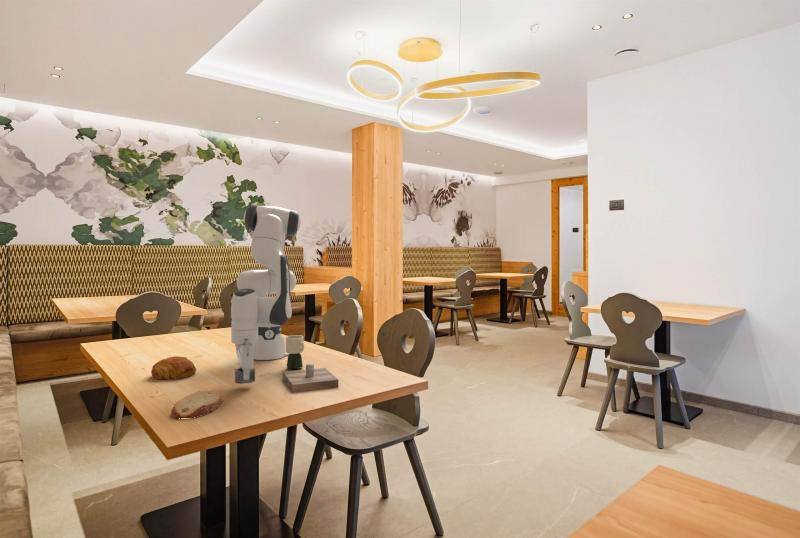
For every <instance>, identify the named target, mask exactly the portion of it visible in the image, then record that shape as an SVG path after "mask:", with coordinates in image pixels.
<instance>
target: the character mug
mask: <svg viewBox="0 0 800 538" xmlns="http://www.w3.org/2000/svg"><path fill="white" fill-rule="evenodd" d="M304 343H305V341H304V335H301V334H299V335H297V334H293V335H292V334H291V335H287V336H285V351H286V353H289V355H287V360H286V368H287V369H289V370H293V369H296V370H299V369H300V368H301V369H302V368H303V367H304V365H303V357H302V353H304V350H305V344H304Z"/></svg>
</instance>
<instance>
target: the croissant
mask: <svg viewBox="0 0 800 538" xmlns="http://www.w3.org/2000/svg"><path fill="white" fill-rule="evenodd" d="M150 372H151V373H150V374H151V375H152V377H153V378H154V379H155V380H167V379H168V380H171V379H172V380H173V381H175V380H179V379H185V378H189V377H192V376H193V375H194V374H195V373H196V372H197V367H196V366H195V364H194V362H193V361H191V360H189V359H188V357H186V356H177V355H176V356H170V357H167V358H164V359H160V360H159V361H157V362H156V363H155V364H154V365H153V366H152V368H151V371H150Z"/></svg>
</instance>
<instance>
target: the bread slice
mask: <svg viewBox="0 0 800 538" xmlns="http://www.w3.org/2000/svg"><path fill="white" fill-rule="evenodd" d="M221 404H222V396H221V395H220V394H218V392H215V391H214V392H213V391H209V390H198V391H195V392H193V393H190V394H189V395H187V396H186V395H185V396H184V397H182V398H181V399H179V400H178V401H176V402H175V404H174V405H173V408H172V409H171V412H170V413H171V415H172V417H174V418H175V419H176V418H180V419H181V418H194V417H196V418H198V417H197V416H199V417H201V416H200V415H203V416H205V415H204V414H206V415H208V414H207V413H209V414H211V413H213V412H215V411H216V410H217V409H219V408H220V406H221ZM212 411H213V412H212ZM210 412H211V413H210ZM194 419H195V418H194Z"/></svg>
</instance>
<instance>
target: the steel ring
mask: <svg viewBox="0 0 800 538" xmlns="http://www.w3.org/2000/svg"><path fill="white" fill-rule="evenodd" d="M255 381H256V369H255V368H254V367H253V369H250V373H249V379H248V380H244V379H243V370H242V367H241V366H240V367H238V368H235V369H234V383H235V384H240V385H244V384H250V383H253V382H254V383H255Z"/></svg>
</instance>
